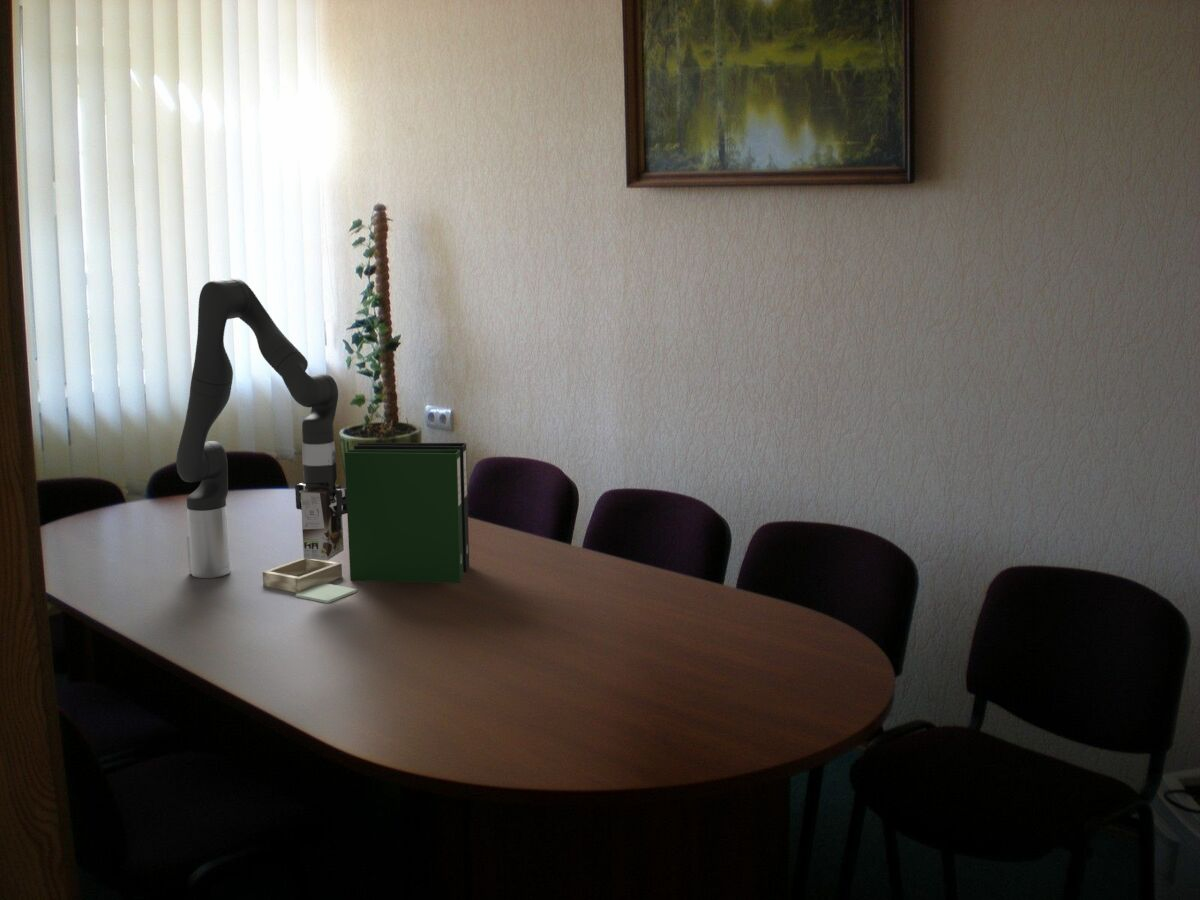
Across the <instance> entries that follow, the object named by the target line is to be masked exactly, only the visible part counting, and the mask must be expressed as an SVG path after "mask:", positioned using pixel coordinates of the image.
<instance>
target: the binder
mask: <svg viewBox="0 0 1200 900" xmlns="http://www.w3.org/2000/svg"><path fill="white" fill-rule="evenodd" d="M467 462H468V461H467V443H466V442H357V445H354V446H353V449H348V451H346V452H344V467H345V468H344V470H345V471H344V472H345V486H346V487H345V489H346V490H347V501H348V513H346V514H347V535H348V537H347V538H348V554H349V555H348V556H349V577H350V578H349V579H350V581H352V582H384V583H387V582H391V583H392V582H393V583H396V582H397V583H434V584H435V583H436V584H437V583H443V584H447V583H448V584H460V583H461V582H462V580H463V579H464V573H467V572H466V571H468V569H469V568H470V540H469V538H470V537H469V536H470V534H469V506H468V505H469V504H468V503H469V499H468V495H469V494H468V468H467V467H468V463H467Z"/></svg>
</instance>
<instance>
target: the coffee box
mask: <svg viewBox="0 0 1200 900" xmlns="http://www.w3.org/2000/svg"><path fill="white" fill-rule="evenodd" d="M335 486H336V488H337V489H342V486H341V484H335ZM335 496H336V495H335ZM335 496H334V498H335ZM334 498H333V495H332V497H331V496H330V491H328V490H323V489H310V488H308V489H306V490H304V491H302V492H301V509H302V510H301V526H302V527H301V529H302V549H303V550H302V551H303V552H302V553H303V558H304V559H315V560H325V561H330V560H331V559H332V558H334V557H336V556H337V555H339V554H340V553H342V552H343V551H345V550H344V548H345V547H344V527H343V515H341V529H340V531H339V532H336V533H333V532H332V529H331V517H332V516H331V513H330V507H329V506H330V505H331V504H332V503H335V499H334ZM333 508H334V507H333ZM334 510H335V509H334Z"/></svg>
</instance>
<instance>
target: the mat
mask: <svg viewBox="0 0 1200 900" xmlns="http://www.w3.org/2000/svg"><path fill="white" fill-rule="evenodd" d="M357 592H358V589H357V588H353V587H349V586H348V587H347V586H344V585H343V586H342V585H336V584H331V583H324V584H321V585H319V586H316V587H313V588H311V589H308V590H306V591H303V592H300V593H296V594H295V598H300V599H305V600H310V601H315V602H320V603H326V604H329V603H333V602H334V601H337V600H340V599H342V598H344V597H347V596H349V595H352V594H354V593H357Z"/></svg>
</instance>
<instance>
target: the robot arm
mask: <svg viewBox="0 0 1200 900" xmlns="http://www.w3.org/2000/svg"><path fill="white" fill-rule="evenodd" d="M199 293H200V294H199V298H198V311H197V314H198V315H197V335H196V336H197V337H196V347H195V355H194V362H193V367H192V372H191V373H192V374H191V380H190V387H189V388H190V390H189V396H188V404H187V409H186V415H185V421H184V425H183V429H182V433H181V436H180V441H179V444H178V448H177V452H176V463H175V464H176V465H175V466H176V472H177V474H178V476H179V478H180V479H181V480H182V481H184V482H186V483H197V482H200V484H199V486H198V487H197V488H195V490H194V491H192V492H191V493H190V494H189V495H188V496H187V498H186V511H187V524H188V526H187V527H188V536H186V548H187V549H186V550H187V565H188V574H191V576H192V577H194V578H197V579H212V578H213V579H214V578H219V577H223V576H226V575H228V574H230V573H231V561H230V560H231V559H230V543H229V542H230V541H229V527H228V515H227V514H228V512H227V497H228V493H229V473H228V472H229V468H228V466H229V464H228V457H227V452H226V450H225V448H224V446H223V444H221V443H220V442H218V441H216V440H209V441H208V440H207V438H208V435H209V432H210V430H211V428H212V426H213V425H214V423H215V422H216V421H217V419H218V417H219V416H220V415H221V413H222V412H223V410H224V409H225V407H226V406H227V404H228V402H229V399H230V397H231V393H232V392H231V391H232V385H233V378H234V371H233V367H232V363H231V360H230V358H229V355H228V353H227V349H226V347H225V344H224V340H225V337H224V336H225V330H226V324H227V321H228V320H231V319H236V318H237V319H238V318H239V319H240V320H241V321H242V322H243V323H245V324H246V325H247V326H248V327H249V328H250V330H252V332H253V333H254V336H255V338H256V342H257V345H258V349H259V351H260V354H261V355H262V357H263V359H264V360H265V361H266V362H267V364H269V366H271V368H272V369H273V370H275V371H274V372H276V373H277V374H278V375H279V376H280V377H281V378H282V380H283V383H284V385H285V386H286V388H287V391H288V392H289V394H290V395H291V397H292V398H293V400H294V401H295V402H296V403H297V404H299V405H300V406H302V407H304V408H311V410H310V413H309V415H307V416H306V417H305V418H303V420H302V422H301V433H302V434H301V438H302V449H301V450H302V451H301V452H302V455H301V457H302V472H303V481H304V482H301V483H299V484H295V485H294V490H295V494H294V495H295V507H296V509H297V510H299V511H302V509H301V492H302V491H304V490H306V489H308V488H310V489H323V490H328V491H330V496H331V497H332V495H333V498H334V496H335V495H336V496H335V498H334V499H335V503H332V504H331V505H330V506H329V507H330V513H331V516H332V517H331V529H332V532H333V533H336V532H339V531H340V529H341V515H342V516H343V515H346V514H347V513H348V501H347V490H346V487H345V488H341V489H337V488H336V486H335V485H336V481H337V479H338V473H337V471H338V470H337V455H336V453H337V452H336V446H335V437H334V436H335V435H334V432H335V431H334V420H335V416H336V411H337V407H338V401H339V388H338V385H337V382H336V381H335V379H334V377H332V376H331V375H329V374H327V373H320V374H314V375H310V374H308V373H307V372H306V371H307V369H308V365H309V362H308V360H307V358H306V357H305V356H304V355H303V353H302V352H300V350H299V349H298V348H297V347H296V346H295V345H294V344H293V343H292V342H291V341H290V340H289V339H288V338H287V337H286V335H284V333H283V332H282V331H281V330H280V329H279V327H278V326H277V324H276V323H275V322H274V320H273V319H272V317H271V316H270V314H269V313H268V312H267V309H266V308H265V307H264V305H262V302H260V300H259V298H258V296H257V295H256V293H254V291H253V290H252V288H251V287H250V286H249V285H248V283H246V282H245V281H243V280H242V279H240V278H225V279H223V278H222V279H217V280H210V281H208V282H206V283H205V284H204V285H203V287H202V288H201V290H200V292H199ZM333 507H334V508H333ZM334 509H335V510H334Z"/></svg>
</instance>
